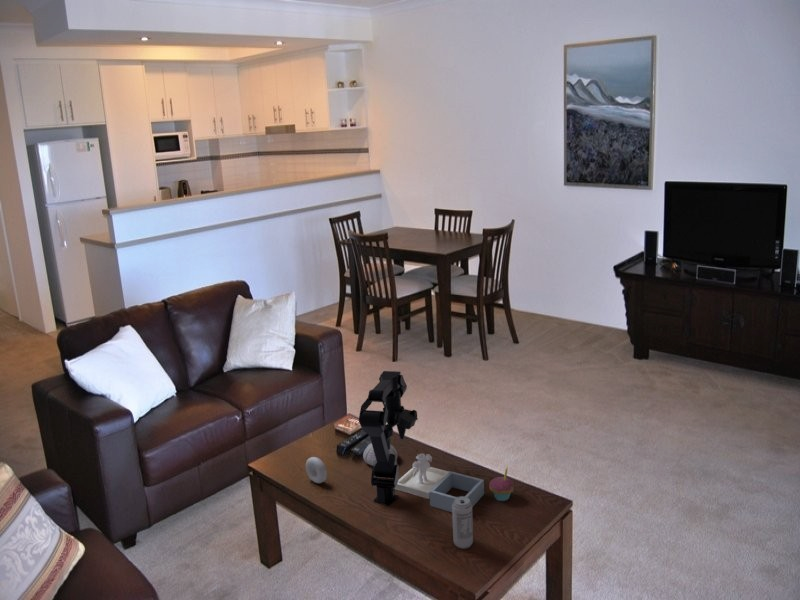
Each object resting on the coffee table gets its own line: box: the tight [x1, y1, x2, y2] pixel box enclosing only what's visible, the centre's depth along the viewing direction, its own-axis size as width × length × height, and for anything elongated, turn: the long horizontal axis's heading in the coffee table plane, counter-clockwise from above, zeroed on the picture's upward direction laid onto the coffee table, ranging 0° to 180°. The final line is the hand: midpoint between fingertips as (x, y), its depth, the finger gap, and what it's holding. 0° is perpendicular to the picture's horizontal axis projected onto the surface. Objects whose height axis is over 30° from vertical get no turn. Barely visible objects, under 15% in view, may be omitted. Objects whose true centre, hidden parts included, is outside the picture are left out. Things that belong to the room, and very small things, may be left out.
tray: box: [395, 466, 450, 500], centre depth 246 cm, size 16×14×2 cm
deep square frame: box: [429, 470, 485, 513], centre depth 233 cm, size 15×13×6 cm
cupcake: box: [488, 466, 515, 502], centre depth 233 cm, size 9×8×12 cm
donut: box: [305, 456, 328, 484], centre depth 249 cm, size 10×4×10 cm, turn 48°
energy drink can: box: [451, 495, 474, 550], centre depth 208 cm, size 6×6×15 cm
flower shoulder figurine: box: [412, 453, 433, 484], centre depth 244 cm, size 9×4×12 cm, turn 135°
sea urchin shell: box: [362, 442, 398, 467], centre depth 263 cm, size 13×14×8 cm
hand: (395, 444), depth 248 cm, fingers open, 9 cm apart
